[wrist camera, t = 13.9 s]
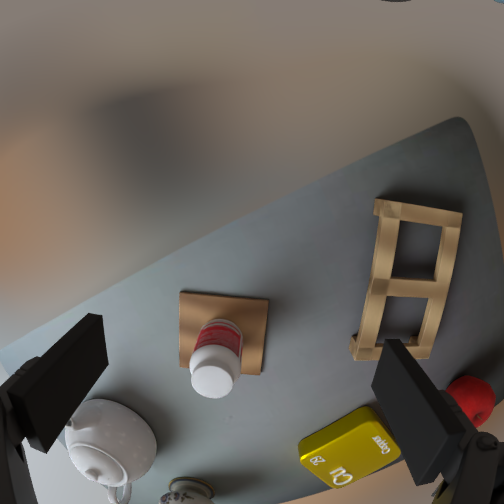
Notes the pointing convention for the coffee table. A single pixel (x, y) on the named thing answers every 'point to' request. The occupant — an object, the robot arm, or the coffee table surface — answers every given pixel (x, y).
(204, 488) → the apothecary jar
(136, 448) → the teapot
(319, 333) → the coffee table surface
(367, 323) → the bottle rack
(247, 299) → the brown flat square
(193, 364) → the pill bottle
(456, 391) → the apple
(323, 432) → the element tile
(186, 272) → the coffee table surface
